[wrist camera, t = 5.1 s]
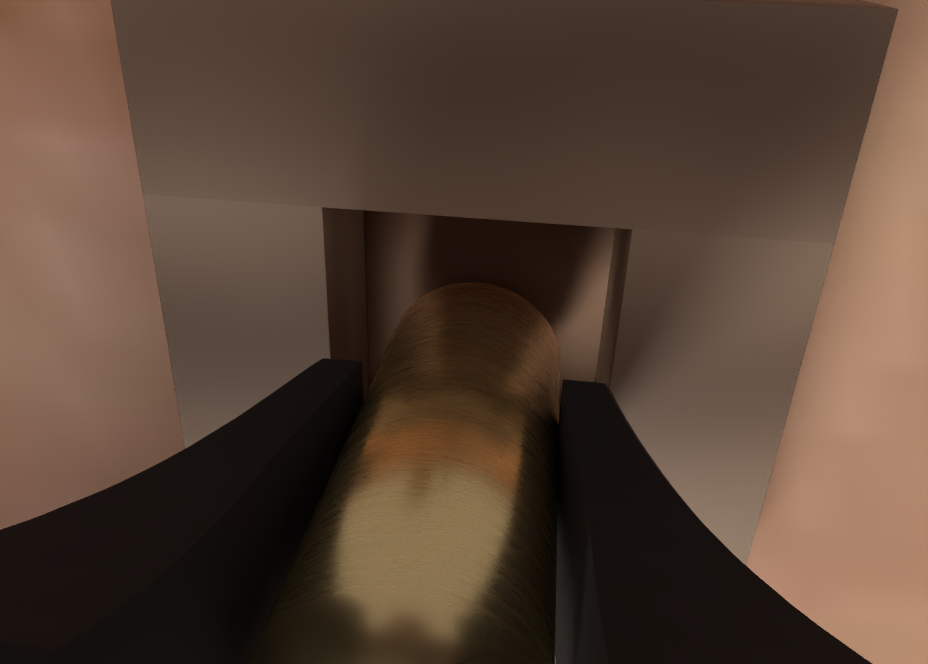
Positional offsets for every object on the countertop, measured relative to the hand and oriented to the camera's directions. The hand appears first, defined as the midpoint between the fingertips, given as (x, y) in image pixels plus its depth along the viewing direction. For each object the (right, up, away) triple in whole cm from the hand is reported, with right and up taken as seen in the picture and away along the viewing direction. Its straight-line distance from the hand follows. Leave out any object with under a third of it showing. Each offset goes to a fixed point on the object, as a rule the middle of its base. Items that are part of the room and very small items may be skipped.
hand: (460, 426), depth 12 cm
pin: (0, +1, +2) cm, 2 cm away
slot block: (0, +2, +3) cm, 3 cm away
